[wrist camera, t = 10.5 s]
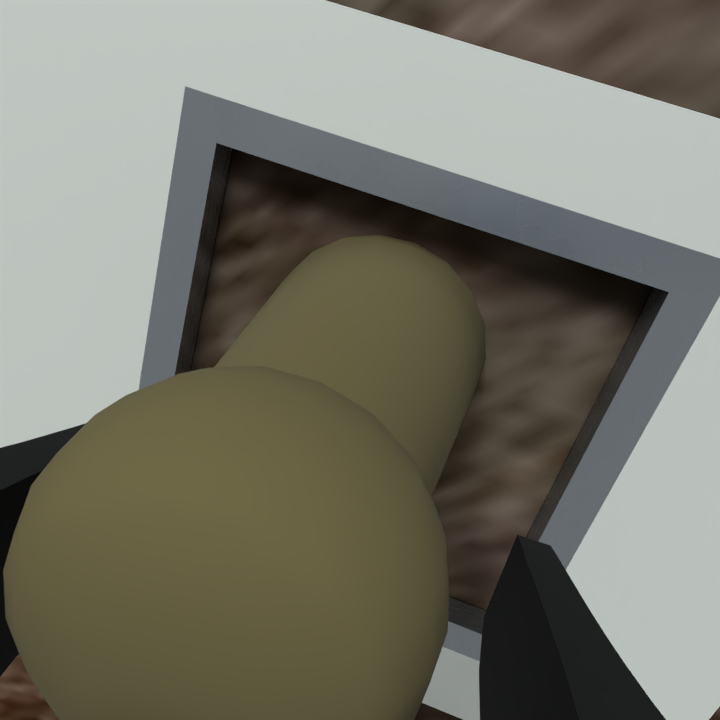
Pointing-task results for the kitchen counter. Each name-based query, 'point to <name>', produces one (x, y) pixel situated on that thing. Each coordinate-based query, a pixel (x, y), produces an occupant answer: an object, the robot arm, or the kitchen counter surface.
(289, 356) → the cork
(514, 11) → the kitchen counter surface
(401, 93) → the white picture frame
